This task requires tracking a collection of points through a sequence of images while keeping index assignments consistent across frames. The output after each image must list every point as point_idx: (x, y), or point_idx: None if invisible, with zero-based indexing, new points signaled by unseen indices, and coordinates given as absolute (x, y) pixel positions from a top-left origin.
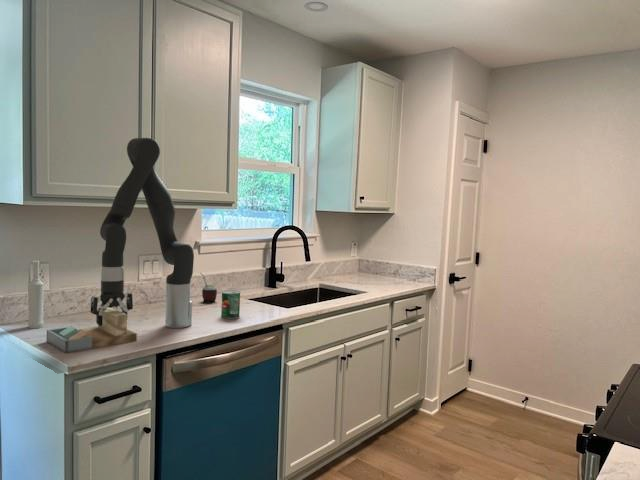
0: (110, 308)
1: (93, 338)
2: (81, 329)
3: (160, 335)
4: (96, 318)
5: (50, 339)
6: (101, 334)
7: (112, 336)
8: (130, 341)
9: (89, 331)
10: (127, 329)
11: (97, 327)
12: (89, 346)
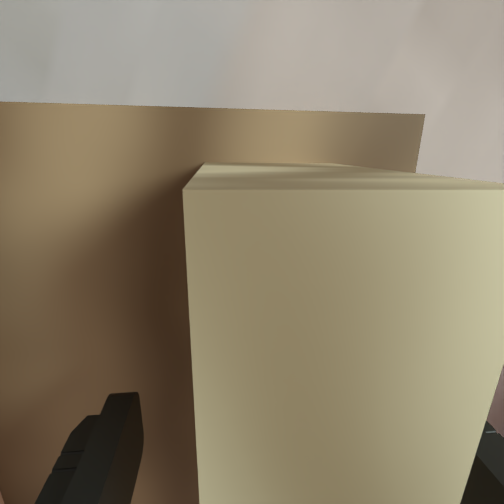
0: (474, 354)
1: (41, 485)
2: (3, 121)
3: (500, 424)
4: (41, 495)
5: None
6: None
7: (188, 495)
8: None
9: (69, 264)
10: None
11: (203, 146)
12: None
